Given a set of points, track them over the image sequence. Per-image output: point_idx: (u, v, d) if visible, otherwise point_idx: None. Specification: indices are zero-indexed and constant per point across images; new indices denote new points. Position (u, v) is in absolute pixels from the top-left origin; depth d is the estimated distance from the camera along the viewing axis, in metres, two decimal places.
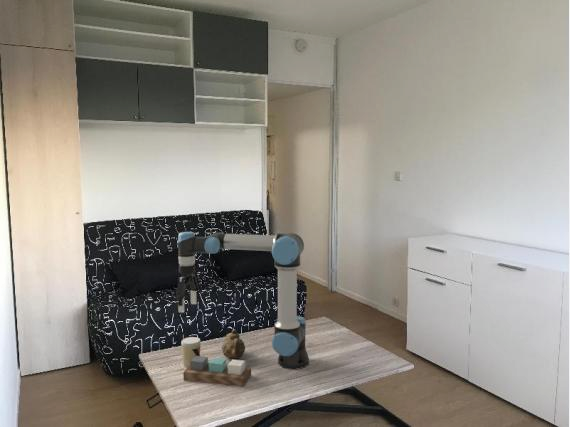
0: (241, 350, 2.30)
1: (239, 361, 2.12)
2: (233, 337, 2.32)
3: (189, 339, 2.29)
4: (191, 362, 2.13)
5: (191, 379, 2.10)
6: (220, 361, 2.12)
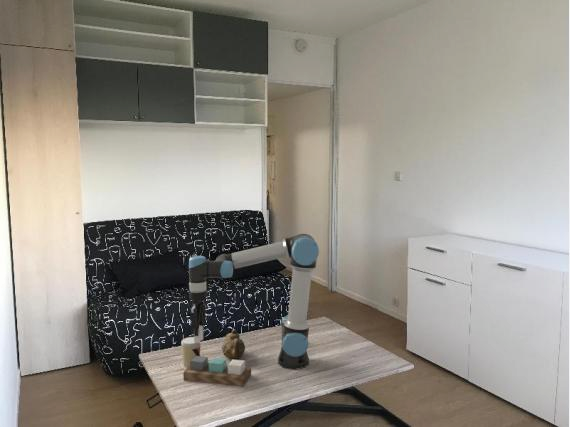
0: (241, 350, 2.30)
1: (239, 361, 2.12)
2: (233, 337, 2.32)
3: (189, 339, 2.29)
4: (191, 362, 2.13)
5: (191, 379, 2.10)
6: (220, 361, 2.12)
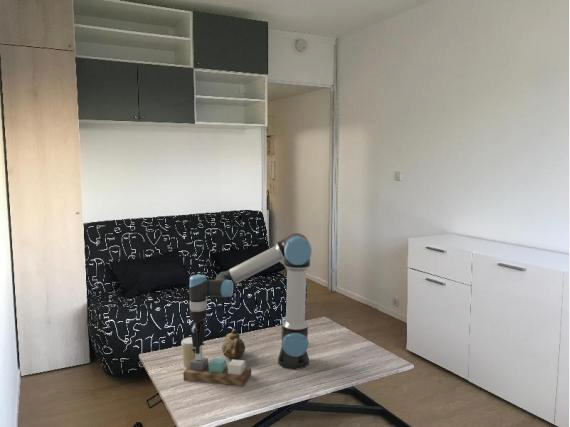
0: (241, 350, 2.30)
1: (239, 361, 2.12)
2: (233, 337, 2.32)
3: (189, 339, 2.29)
4: (191, 363, 2.13)
5: (191, 379, 2.10)
6: (220, 361, 2.12)
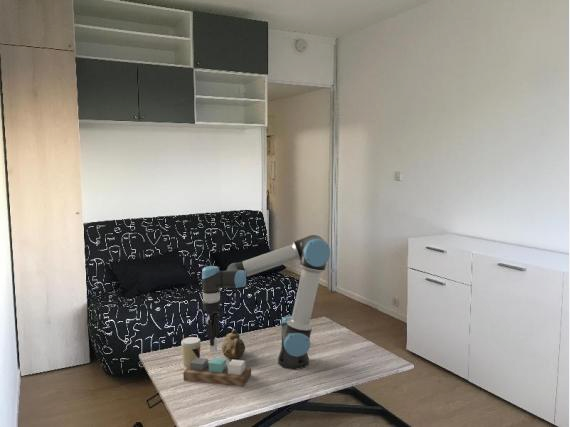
0: (241, 350, 2.30)
1: (239, 361, 2.12)
2: (233, 337, 2.32)
3: (189, 339, 2.29)
4: (191, 364, 2.13)
5: (191, 379, 2.10)
6: (220, 361, 2.12)
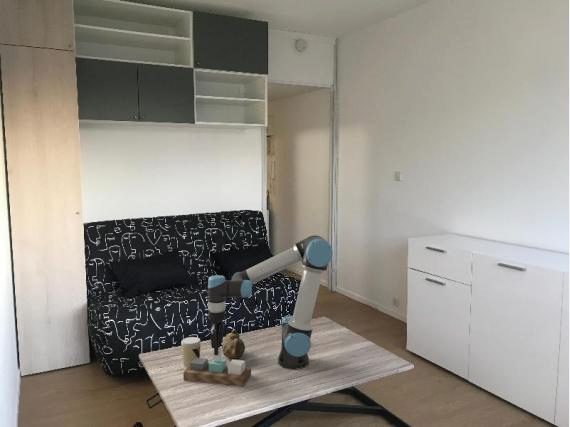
0: (241, 350, 2.30)
1: (239, 361, 2.12)
2: (233, 337, 2.32)
3: (189, 339, 2.29)
4: (191, 364, 2.13)
5: (191, 379, 2.10)
6: (220, 362, 2.12)
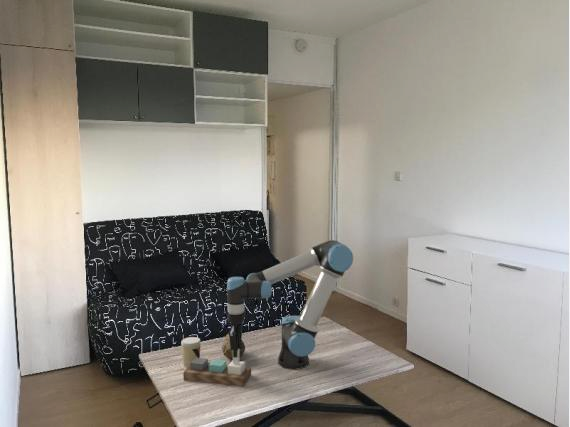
0: (241, 350, 2.30)
1: None
2: None
3: (189, 339, 2.29)
4: (191, 364, 2.13)
5: (191, 379, 2.10)
6: (220, 363, 2.12)
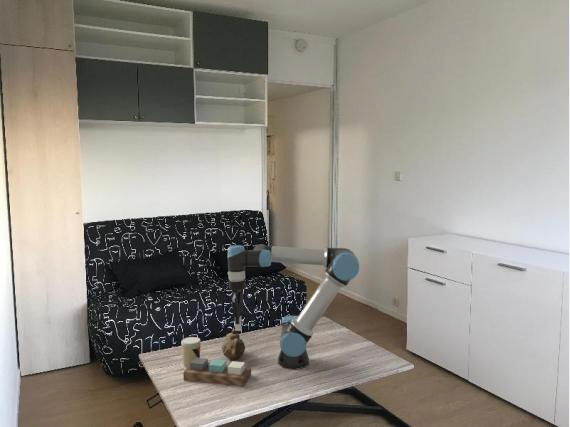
0: (241, 350, 2.30)
1: (239, 363, 2.12)
2: (233, 337, 2.32)
3: (189, 339, 2.29)
4: (191, 364, 2.13)
5: (191, 379, 2.10)
6: (220, 363, 2.12)
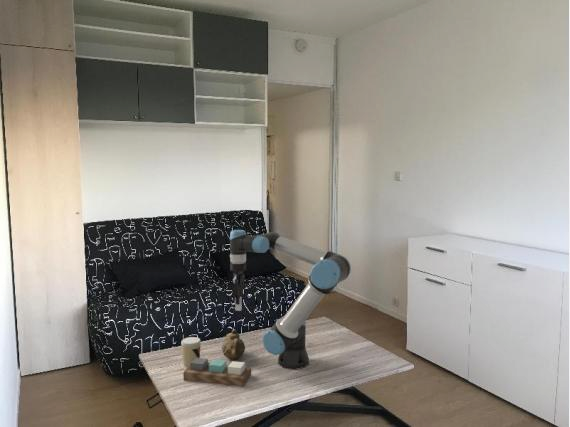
0: (241, 350, 2.30)
1: (239, 363, 2.12)
2: (233, 337, 2.32)
3: (189, 339, 2.29)
4: (191, 364, 2.13)
5: (191, 379, 2.10)
6: (220, 363, 2.12)
